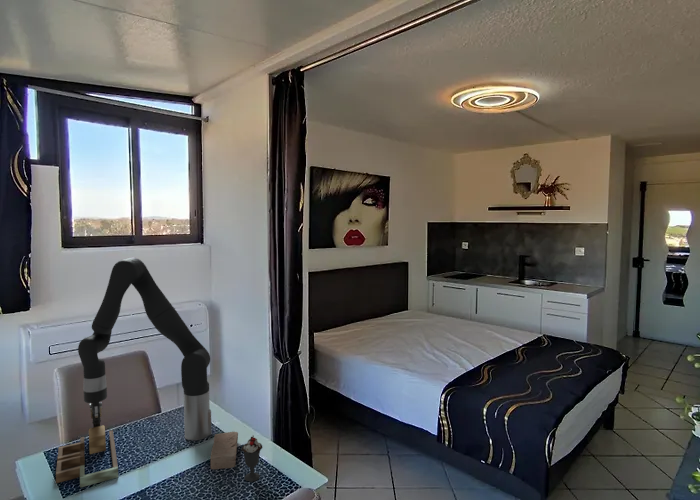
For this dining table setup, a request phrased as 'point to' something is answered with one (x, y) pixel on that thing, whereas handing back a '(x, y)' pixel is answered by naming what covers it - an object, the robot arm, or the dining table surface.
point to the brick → (224, 450)
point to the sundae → (251, 457)
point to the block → (97, 439)
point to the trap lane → (74, 459)
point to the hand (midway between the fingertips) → (97, 431)
